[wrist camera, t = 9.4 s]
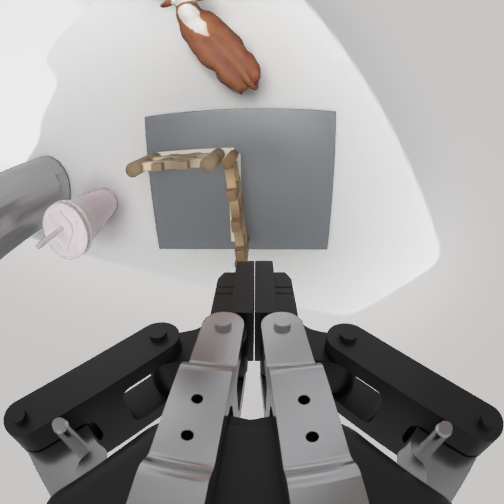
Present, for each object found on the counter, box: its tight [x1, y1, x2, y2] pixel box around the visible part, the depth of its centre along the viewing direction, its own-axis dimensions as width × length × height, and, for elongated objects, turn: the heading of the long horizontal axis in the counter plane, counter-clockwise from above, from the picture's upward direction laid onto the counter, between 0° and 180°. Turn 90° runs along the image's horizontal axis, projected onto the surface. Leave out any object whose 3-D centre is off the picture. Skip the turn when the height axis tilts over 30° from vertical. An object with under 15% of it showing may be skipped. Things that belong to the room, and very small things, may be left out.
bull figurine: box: [161, 0, 260, 94], centre depth 22 cm, size 4×13×8 cm, turn 30°
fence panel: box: [221, 150, 250, 267], centre depth 29 cm, size 11×1×6 cm, turn 6°
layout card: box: [145, 108, 336, 249], centre depth 32 cm, size 21×16×1 cm
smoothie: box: [36, 188, 117, 259], centre depth 27 cm, size 6×6×14 cm
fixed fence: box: [126, 148, 225, 177], centre depth 28 cm, size 9×1×7 cm, turn 91°
